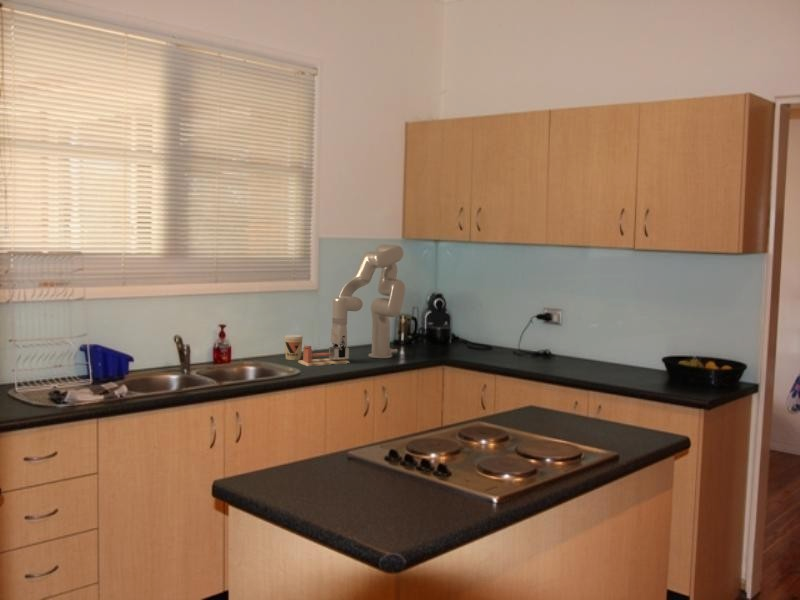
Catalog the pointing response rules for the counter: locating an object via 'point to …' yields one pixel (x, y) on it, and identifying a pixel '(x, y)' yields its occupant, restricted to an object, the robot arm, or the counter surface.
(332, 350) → the coupler lock
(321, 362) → the birch board
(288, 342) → the coffee cup
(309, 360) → the red toy hammer
